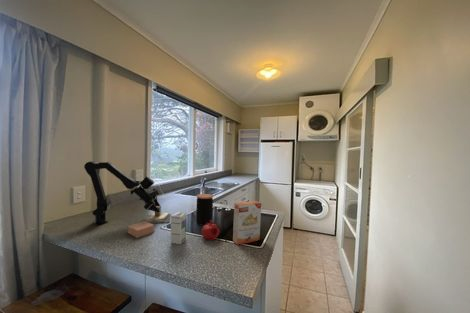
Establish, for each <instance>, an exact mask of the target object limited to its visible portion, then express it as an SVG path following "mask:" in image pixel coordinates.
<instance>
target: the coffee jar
mask: <svg viewBox="0 0 470 313" xmlns="http://www.w3.org/2000/svg"><path fill="white" fill-rule="evenodd" d="M213 197H214V195H213V194H212V193H211V194H210V193H199V194H197V195H196V212H195V213H196V214H195V215H196V216H195V217H196V219H195V222H196V223H197V225H201V226H205V224H206V225H207V224H208V223H209V224H210V221H212V222H213V212H214V210H213V207H214V206H213V205H214V199H213Z"/></svg>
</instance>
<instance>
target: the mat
mask: <svg viewBox="0 0 470 313" xmlns="http://www.w3.org/2000/svg"><path fill="white" fill-rule="evenodd" d="M149 215H150V214H146V217H145V218H144V220H143V221H146V218H147V217H148V216H149ZM171 216H172V214H171V213H169V216H168V217H167V218H166V219H165V221H164V222H150V221H146V222H148V223H151V224H153V225H156V224H157V225H158V224H170V223H171Z"/></svg>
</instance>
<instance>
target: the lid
mask: <svg viewBox="0 0 470 313" xmlns="http://www.w3.org/2000/svg"><path fill="white" fill-rule="evenodd" d="M156 207H157V208H158V209H159V211H160V212H155V211H154V212H152V213H151V212H150V214H148V215H149V216H148V217H147V218H146V217H145V218H146V221H150V222H164V221H165V219H166V218H167V217H168V216H169V214H170V213H169V212H162V211H161V210H162V206H161V205H160V206H156Z"/></svg>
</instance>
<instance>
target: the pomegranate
mask: <svg viewBox="0 0 470 313" xmlns="http://www.w3.org/2000/svg"><path fill="white" fill-rule="evenodd" d="M219 235H220V229H219V227H218V224H217V223H214V221H213V220H212V221H210V224H209V223H208V224H207V225H206V224H205V225H202V227H201V236H202V238H204V239H206V240H210V241H211V240H212V241H213V240H216V239H217V238H218V237H219Z"/></svg>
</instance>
